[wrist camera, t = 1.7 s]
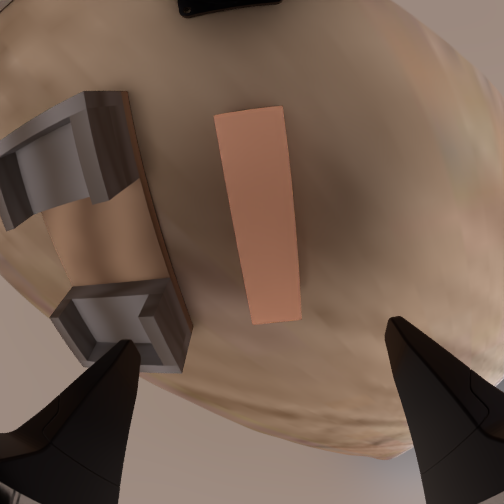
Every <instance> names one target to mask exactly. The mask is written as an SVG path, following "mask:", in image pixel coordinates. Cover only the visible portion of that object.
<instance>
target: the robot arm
mask: <svg viewBox="0 0 504 504" xmlns="http://www.w3.org/2000/svg"><path fill="white" fill-rule="evenodd" d="M281 1H282V0H178V7H179V13H180V15H181V16H182V17H184V18H191V17H195V16H199V15H204V14H208V13H213V12H219V11H224V10H230V9H236V8H244V7H251V6H261V5H272V4H279V3H280V2H281ZM187 9H191V11H190V12H189V13H184V12H185V10H187ZM385 343H386V347H387V351H388V355H389V360H390V364H391V369H392V373H393V378H394V381H395V384H396V387H397V390H398V393H399V396H400V399H401V403H402V406H403V409H404V412H405V416H406V419H407V423H408V426H409V430H410V433H411V437H412V441H413V445H414V448H415V452H416V456H417V461H418V465H419V469H420V474H421V479H422V483H423V488H424V494H425V499H426V504H504V392H502V391H501V390H499V389H498V388H496V387H495V386H493V385H492V384H490V383H489V382H487V381H486V380H485V379H483V378H482V377H481V376H479V375H478V374H477V373H475V372H474V371H473V370H472V369H471V370H470V368H469V367H468V366H466V365H465V364H464V363H463V362H461V361H460V360H459V359H457V358H456V357H455V356H454V355H452V354H451V353H450V352H448V351H447V350H446V349H444V348H443V347H442V346H440V345H439V344H438V343H436V342H435V341H434V340H432V339H431V338H430V337H428V336H427V335H426V334H424V333H423V332H422V331H420V330H419V329H418V328H416V327H415V326H414V325H412V324H411V323H410V322H408V321H407V320H405V319H404V318H403V317H401V316H396V317H391V318H389V320H388V323H387V328H386V332H385ZM140 364H141V355H140V353H139V351H138V349H137V347H136V346H135V344H134V342H133V341H132V340H130V339H122V340H120V341H119V342H118V343H116V344H115V345H114V346H113V347H112V348H111V349H110V350H108V351H107V352H106V353H105V354H104V355H103V356H102V357H101V358H99V359H98V360H97V361H96V362H95V363H94V364H93V365H92V366H90V367H89V368H88V369H87V370H86V371H85V372H84V373H83V374H82V375H80V376H79V377H78V378H77V379H76V380H75V381H74V382H73V383H72V384H70V385H69V386H68V387H67V388H66V389H65V390H64V391H63V392H62V393H60V395H58V396H57V397H56V398H55V399H54V400H53V401H52V402H51V403H49V404H48V405H47V406H46V407H45V408H44V409H42V410H41V411H40V412H39V413H38V414H36V415H35V416H33V417H32V418H31V419H30V420H29V421H27V422H26V423H24V424H23V425H22V426H20V427H19V428H18V429H16V430H14V431H12V432H9V433H0V504H118V499H119V491H120V483H121V476H122V469H123V462H124V457H125V451H126V445H127V440H128V434H129V429H130V424H131V419H132V414H133V410H134V405H135V400H136V395H137V388H138V379H139V372H140Z"/></svg>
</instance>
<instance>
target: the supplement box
mask: <svg viewBox="0 0 504 504" xmlns="http://www.w3.org/2000/svg"><path fill="white" fill-rule="evenodd" d="M11 1H12V0H0V11H1V10H2V9H3V8H4V7H5V6H7V5H8V4H9V3H10V2H11Z"/></svg>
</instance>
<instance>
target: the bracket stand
mask: <svg viewBox="0 0 504 504" xmlns="http://www.w3.org/2000/svg"><path fill="white" fill-rule="evenodd" d="M39 212H41V213H42V216H43V219H44V222H45V224H46V227H47V229H48V232H49V235H50V237H51V240H52V242H53V244H54V247H55V249H56V252H57V254H58V256H59V258H60V261H61V263H62V265H63V267H64V269H65V271H66V274H67V276H68V278H69V280H70V282H71V284H72V286H73V287H72V288H71V290H70V291H69V292H68V293H67V295H66V296H65V297H64V299H63V300H62V301H61V303H60V304H59V305H58V307H57V308H56V309H55V311H54V312H53V313H52V315H51V316H50V319H51V321H52V323H53V324H54V326H55V327H56V329H57V330H58V332H59V333H60V335H61V336H62V338H63V339H64V341H65V342H66V344H67V345H68V347H69V348H70V350H71V351H72V352H73V354H74V355H75V356H76V358H77V359H78V360H79V362H80V363H81V364H82V366H83V367H88V368H89V367H90V366H92V365H93V364H94V363H95V362H96V361H97V360H98V359H99V358H101V357H102V356H103V355H104V354H105V353H106V352H107V351H108V350H110V349H111V348H112V347H113V346H114V345H115V344H116V343H118V342H119V341H120V340H122V339H130V340H132V341H133V342H134V344H135V346H136V347H137V349H138V351H139V353H140V355H141V364H140V372H148V373H182V372H183V367H184V363H185V359H186V355H187V350H188V346H189V342H190V338H191V334H192V330H193V324H192V321H191V319H190V316H189V313H188V311H187V308H186V305H185V303H184V300H183V297H182V294H181V291H180V289H179V286H178V283H177V280H176V277H175V274H174V271H173V268H172V265H171V262H170V259H169V256H168V253H167V250H166V246H165V243H164V240H163V237H162V233H161V230H160V227H159V223H158V220H157V216H156V213H155V209H154V206H153V202H152V199H151V195H150V191H149V188H148V184H147V180H146V176H145V172H144V168H143V164H142V160H141V155H140V151H139V147H138V142H137V138H136V133H135V129H134V124H133V119H132V114H131V109H130V103H129V98H128V92H127V91H83V92H81V93H79V94H77V95H75V96H73V97H71V98H69V99H67V100H65V101H63V102H61V103H59V104H57V105H55V106H54V107H52V108H50V109H48V110H47V111H45V112H43V113H41V114H40V115H38V116H36V117H35V118H33V119H31V120H30V121H28V122H27V123H25V124H24V125H22V126H20V127H19V128H17V129H16V130H14V131H13V132H12V133H10V134H9V135H7V136H6V137H4V138H3V139H2V140H0V216H1V218H2V221H3V224H4V227H5V229H6V231H9V230H12V229H14V228H16V227H17V226H18V225H20V224H21V223H22V222H24V221H25V220H27V219H28V218H29V217H31V216H32V215H34V214H36V213H39Z"/></svg>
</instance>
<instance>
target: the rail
mask: <svg viewBox="0 0 504 504" xmlns="http://www.w3.org/2000/svg"><path fill="white" fill-rule="evenodd" d="M214 120H215V126H216V132H217V138H218V143H219V149H220V155H221V160H222V166H223V171H224V177H225V182H226V188H227V193H228V199H229V204H230V210H231V215H232V220H233V226H234V231H235V236H236V242H237V247H238V252H239V257H240V263H241V268H242V273H243V278H244V283H245V288H246V294H247V299H248V304H249V309H250V314H251V319H252V324H253V325H256V324H266V323H276V322H285V321H294V320H302V316H301V296H300V278H299V263H298V249H297V235H296V223H295V212H294V201H293V190H292V180H291V171H290V162H289V153H288V144H287V136H286V128H285V120H284V113H283V106H272V107H264V108H256V109H248V110H241V111H235V112H228V113H223V114H217V115H214Z"/></svg>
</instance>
